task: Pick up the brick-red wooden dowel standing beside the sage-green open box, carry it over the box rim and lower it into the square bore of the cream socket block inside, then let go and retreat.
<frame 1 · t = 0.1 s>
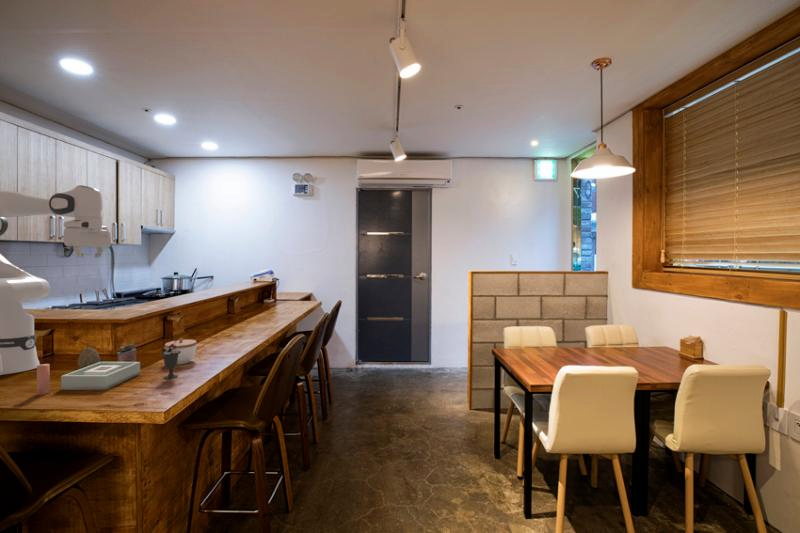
hand: (89, 257, 153), 48 cm above the countertop, tool pointing down, fingers open, 8 cm apart
box: (103, 381, 141), on the countertop
sundae: (171, 377, 147), on the countertop
dowel: (43, 393, 128), on the countertop
decorative egg: (89, 371, 154), on the countertop
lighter: (127, 368, 158), on the countertop
lidded bowl: (181, 362, 167), on the countertop
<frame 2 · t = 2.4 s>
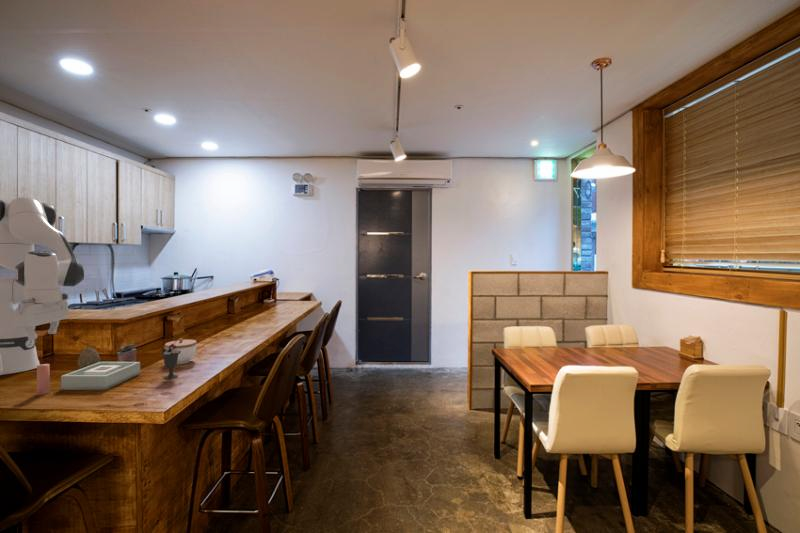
hand: (42, 336, 128), 20 cm above the countertop, tool pointing down, fingers open, 8 cm apart
nothing on the countertop moved.
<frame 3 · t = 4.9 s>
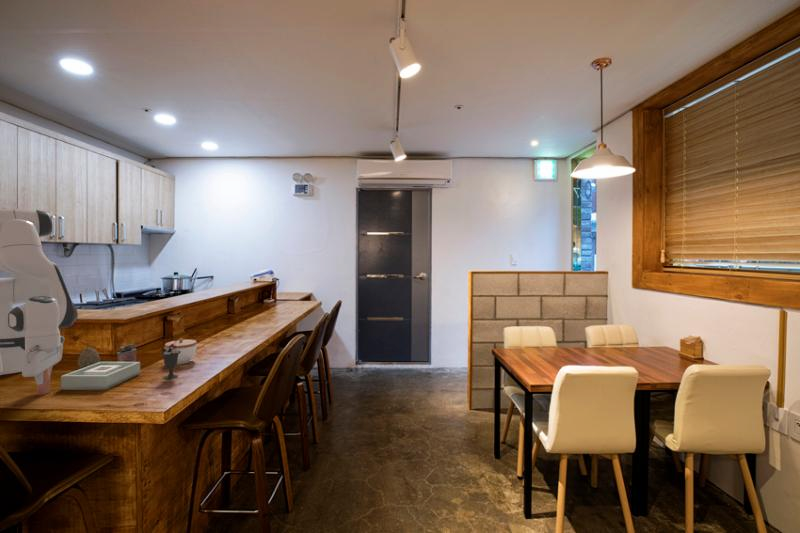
hand: (43, 381, 128), 4 cm above the countertop, tool pointing down, fingers closed on dowel, 3 cm apart
dowel: (43, 393, 128), on the countertop, touching gripper
everything else where it was.
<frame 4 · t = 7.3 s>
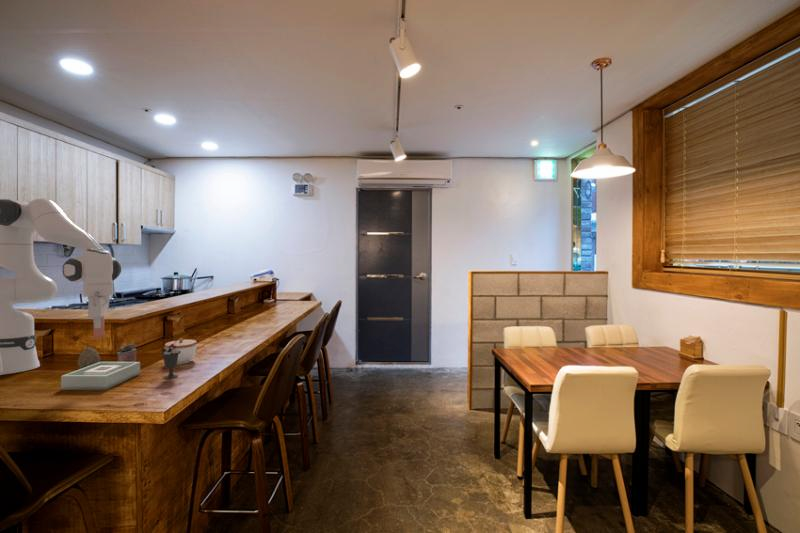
hand: (98, 326, 139), 21 cm above the countertop, tool pointing down, fingers closed on dowel, 3 cm apart
dowel: (99, 337, 139), point 17 cm above the countertop, touching gripper
everything else where it was.
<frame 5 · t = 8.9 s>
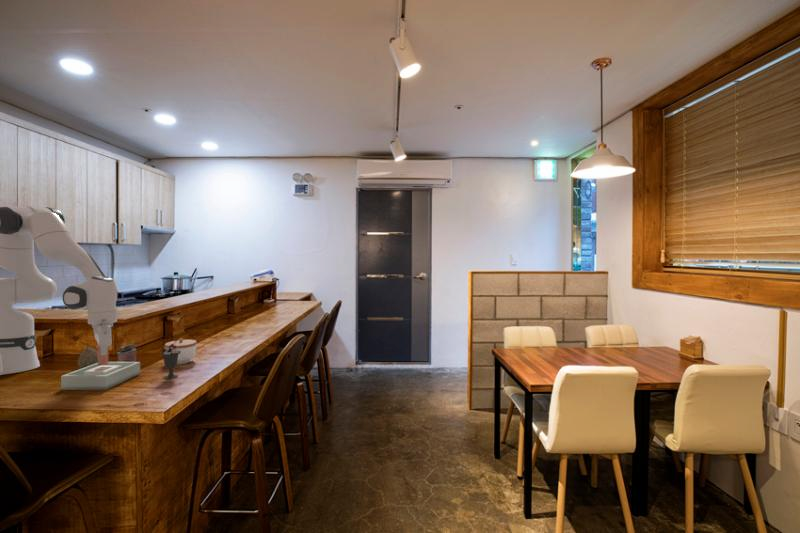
hand: (102, 353, 141), 11 cm above the countertop, tool pointing down, fingers closed on dowel, 3 cm apart
dowel: (103, 364, 141), point 7 cm above the countertop, touching gripper
everything else where it was.
when the fingers open (7 cm above the countertop, at t = 10.0 s): dowel drops 1 cm, resting on box.
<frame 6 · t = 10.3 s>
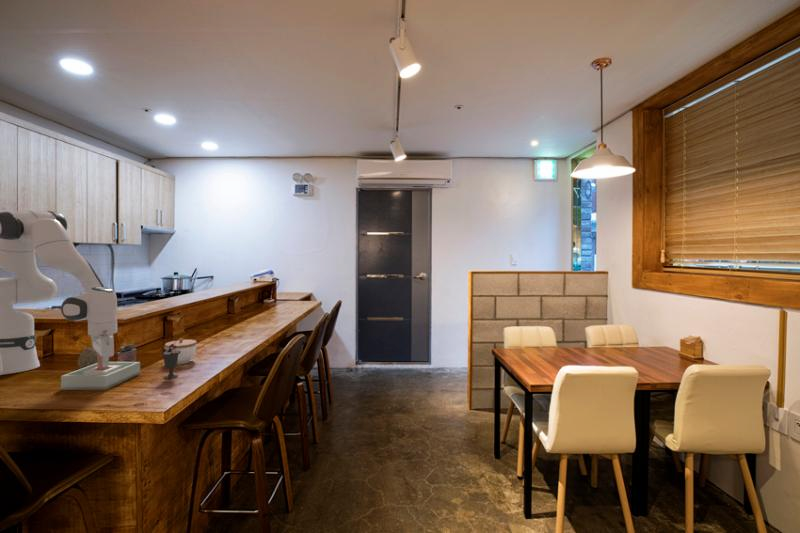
hand: (103, 364, 141), 7 cm above the countertop, tool pointing down, fingers open, 6 cm apart
dowel: (103, 378, 141), point 1 cm above the countertop, touching box
everything else where it was.
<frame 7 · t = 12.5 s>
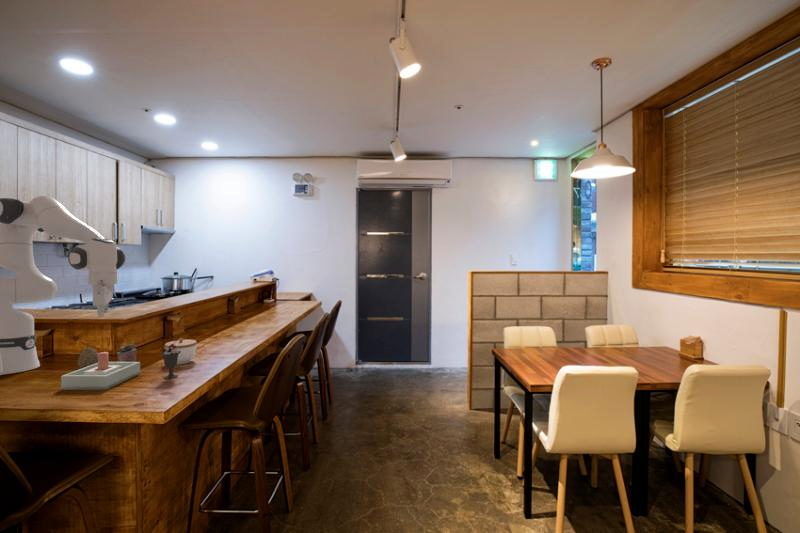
hand: (103, 314, 143), 26 cm above the countertop, tool pointing down, fingers open, 8 cm apart
nothing on the countertop moved.
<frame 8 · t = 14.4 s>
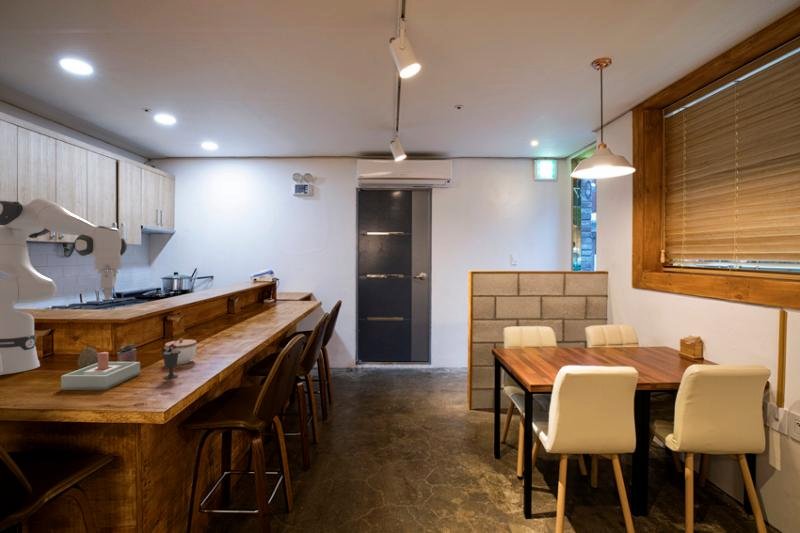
hand: (108, 297, 152), 31 cm above the countertop, tool pointing down, fingers open, 8 cm apart
nothing on the countertop moved.
at the end: dowel 0.0 cm off-centre on the box, point 1.0 cm above the box's base; dowel tilted 0°; the gripper is holding nothing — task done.
